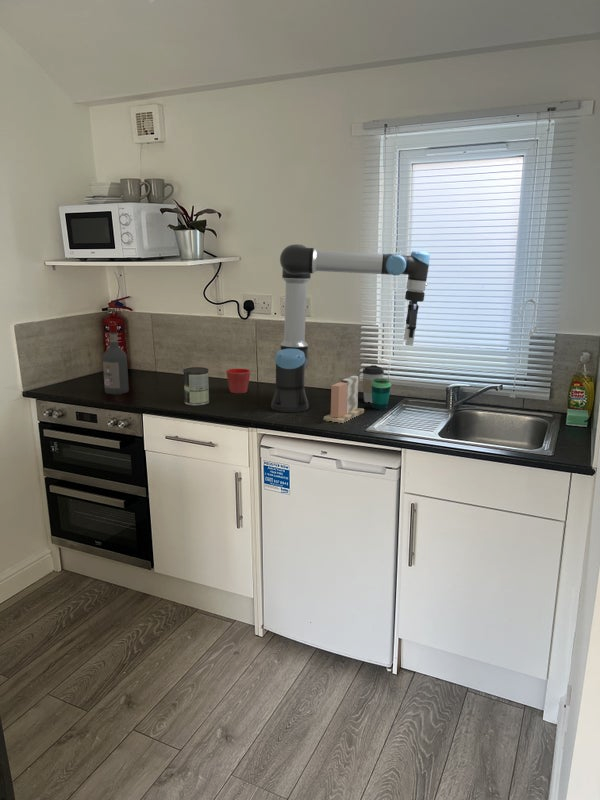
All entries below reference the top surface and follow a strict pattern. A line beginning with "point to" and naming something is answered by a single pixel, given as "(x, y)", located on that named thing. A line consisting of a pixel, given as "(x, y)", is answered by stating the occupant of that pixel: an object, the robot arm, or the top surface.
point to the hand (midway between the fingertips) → (408, 342)
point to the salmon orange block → (338, 399)
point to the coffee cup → (370, 380)
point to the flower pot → (238, 380)
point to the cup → (380, 393)
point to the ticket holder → (349, 402)
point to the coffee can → (196, 386)
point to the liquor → (115, 366)
